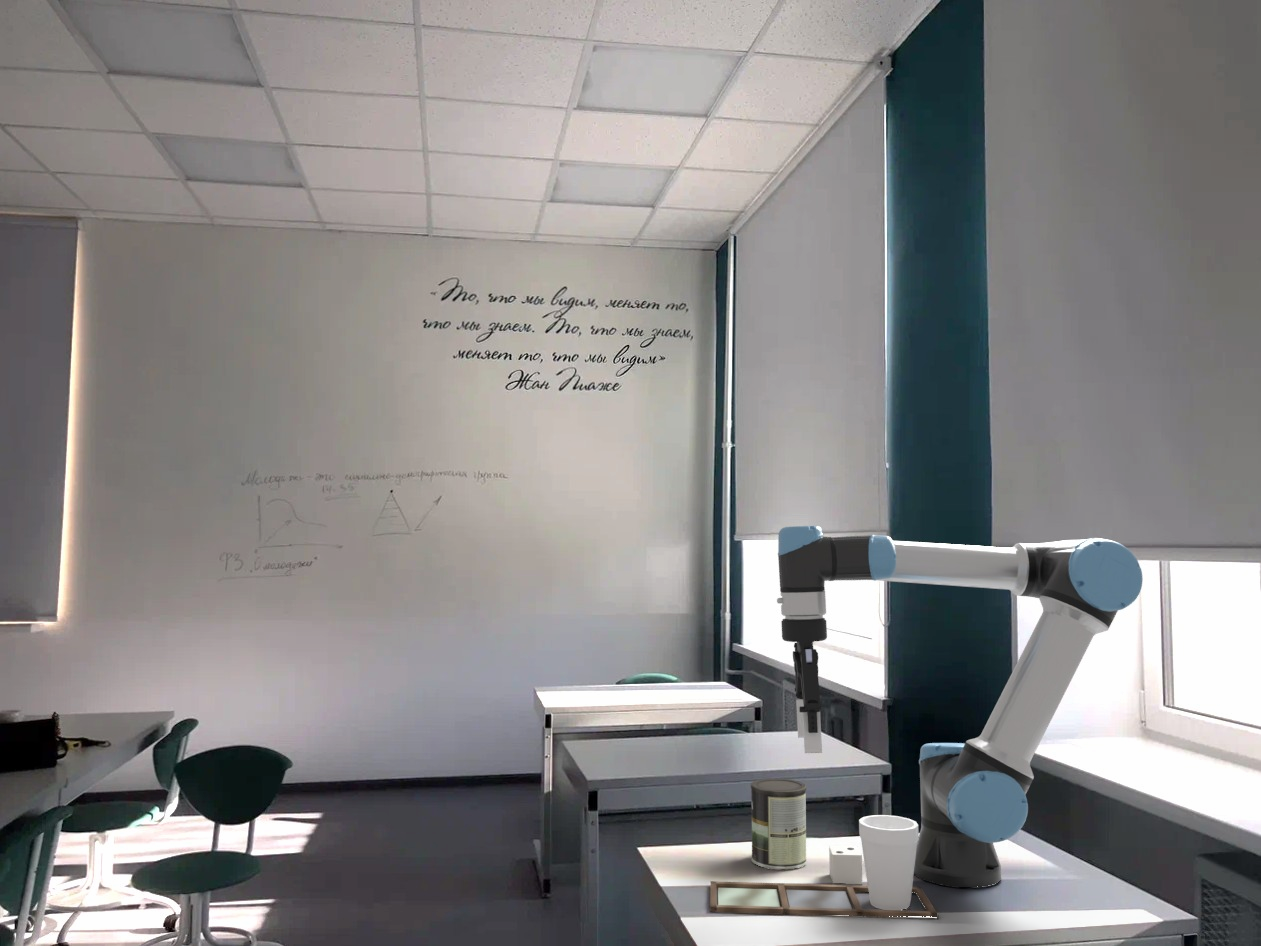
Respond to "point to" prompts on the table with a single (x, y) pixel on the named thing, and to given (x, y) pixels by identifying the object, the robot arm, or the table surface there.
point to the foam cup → (889, 859)
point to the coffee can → (778, 823)
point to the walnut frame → (800, 900)
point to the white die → (845, 864)
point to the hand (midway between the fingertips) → (809, 744)
